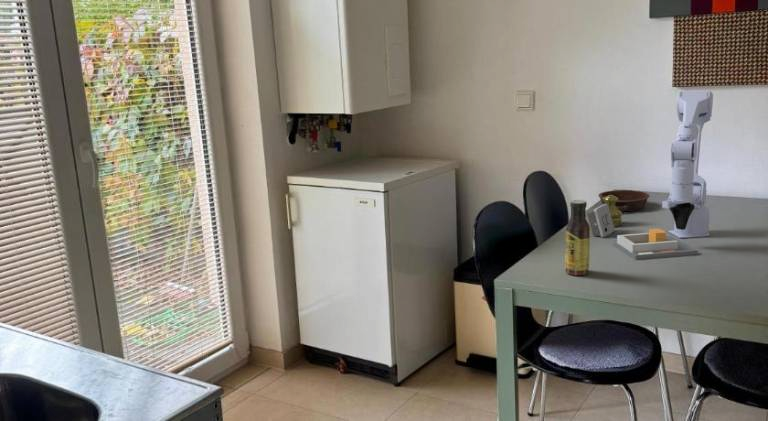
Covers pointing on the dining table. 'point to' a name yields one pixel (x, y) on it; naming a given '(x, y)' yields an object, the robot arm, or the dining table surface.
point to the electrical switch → (601, 221)
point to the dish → (627, 199)
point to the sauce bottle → (577, 240)
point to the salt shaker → (613, 210)
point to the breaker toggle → (657, 235)
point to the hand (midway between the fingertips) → (680, 228)
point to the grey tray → (652, 247)
